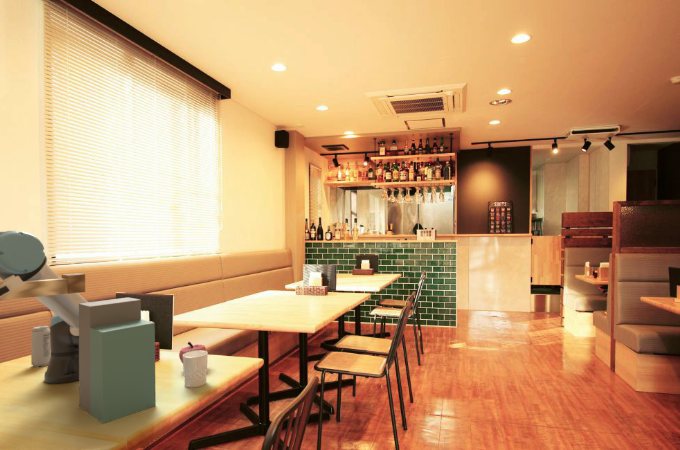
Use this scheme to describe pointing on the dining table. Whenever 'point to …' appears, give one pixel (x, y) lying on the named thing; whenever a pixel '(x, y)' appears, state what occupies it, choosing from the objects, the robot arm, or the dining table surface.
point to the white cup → (195, 368)
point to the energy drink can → (40, 346)
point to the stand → (115, 359)
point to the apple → (190, 349)
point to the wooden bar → (49, 287)
